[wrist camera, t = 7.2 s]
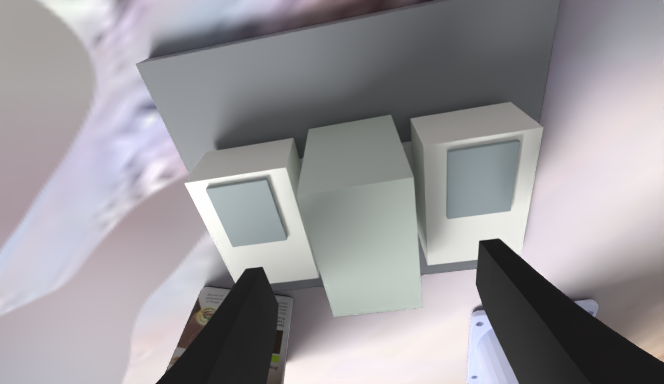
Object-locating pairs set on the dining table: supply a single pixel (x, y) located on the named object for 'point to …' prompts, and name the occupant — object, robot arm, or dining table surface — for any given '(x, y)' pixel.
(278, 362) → the coffee box
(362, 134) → the block
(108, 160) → the dining table surface
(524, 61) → the board
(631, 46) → the dining table surface
